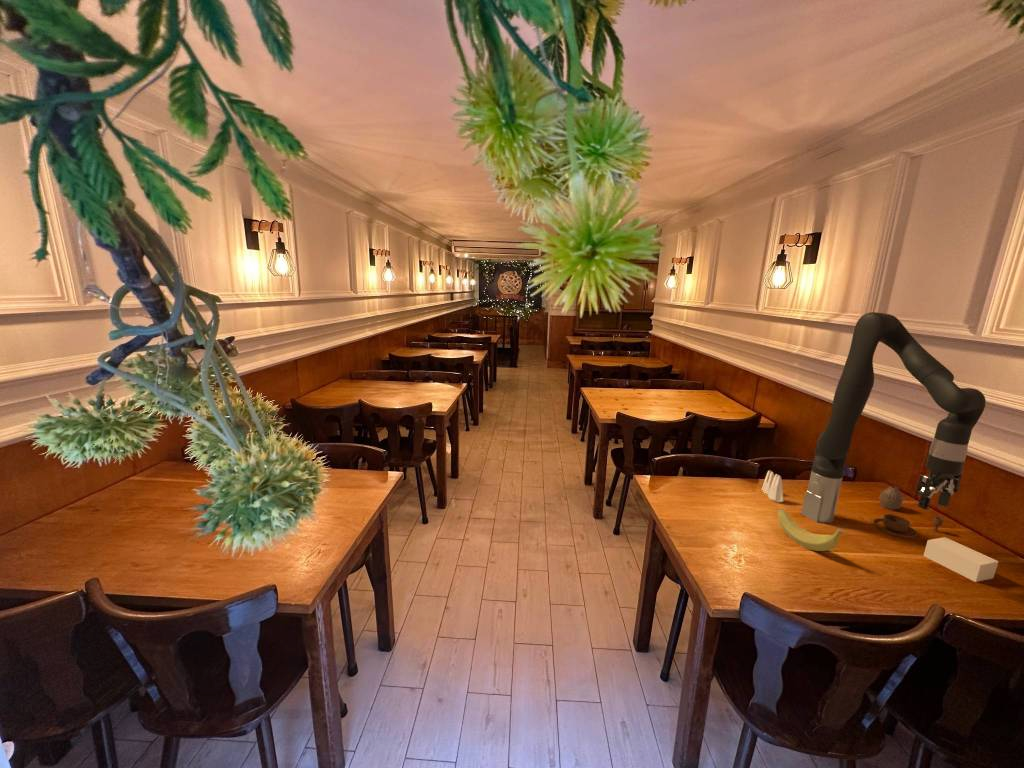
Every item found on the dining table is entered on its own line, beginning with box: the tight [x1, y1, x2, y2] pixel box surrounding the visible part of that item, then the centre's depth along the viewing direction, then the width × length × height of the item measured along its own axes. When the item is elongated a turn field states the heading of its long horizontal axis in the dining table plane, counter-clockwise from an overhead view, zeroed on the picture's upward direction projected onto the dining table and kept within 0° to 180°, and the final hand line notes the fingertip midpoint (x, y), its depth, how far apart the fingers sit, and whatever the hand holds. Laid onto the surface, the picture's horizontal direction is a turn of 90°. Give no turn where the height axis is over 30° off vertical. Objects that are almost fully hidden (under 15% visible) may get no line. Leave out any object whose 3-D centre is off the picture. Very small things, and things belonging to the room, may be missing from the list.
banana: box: [777, 507, 845, 552], centre depth 140 cm, size 14×6×20 cm
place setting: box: [872, 513, 944, 543], centre depth 152 cm, size 18×20×6 cm
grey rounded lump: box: [878, 485, 904, 511], centre depth 170 cm, size 7×7×9 cm
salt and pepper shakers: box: [761, 470, 784, 503], centre depth 174 cm, size 12×4×11 cm, turn 170°
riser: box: [923, 536, 999, 583], centre depth 133 cm, size 8×13×6 cm, turn 16°
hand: (932, 506), depth 129 cm, fingers open, 8 cm apart
